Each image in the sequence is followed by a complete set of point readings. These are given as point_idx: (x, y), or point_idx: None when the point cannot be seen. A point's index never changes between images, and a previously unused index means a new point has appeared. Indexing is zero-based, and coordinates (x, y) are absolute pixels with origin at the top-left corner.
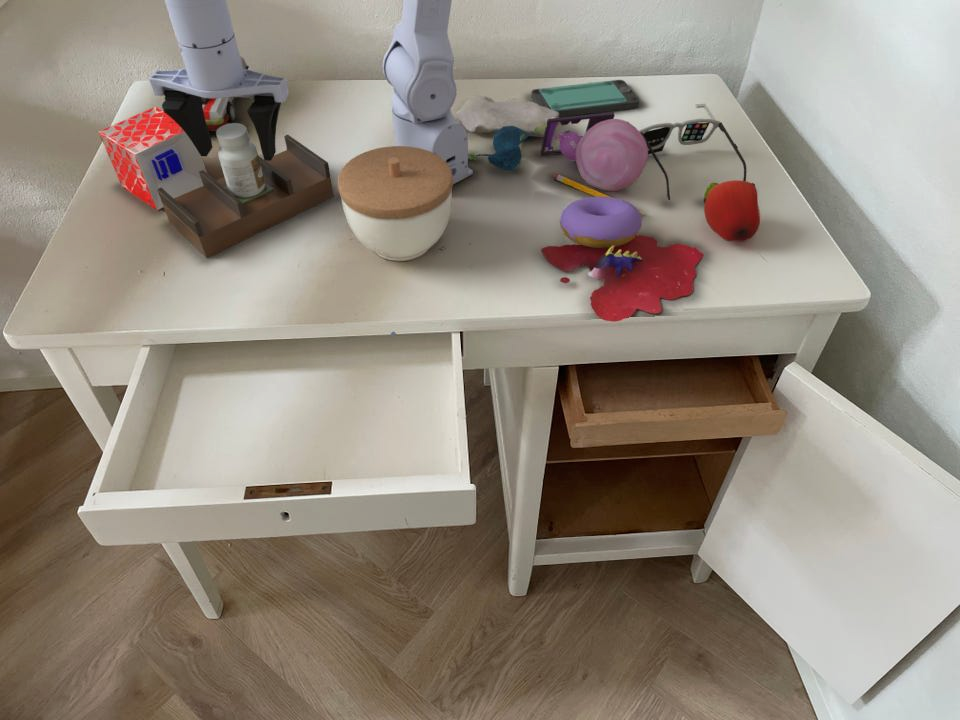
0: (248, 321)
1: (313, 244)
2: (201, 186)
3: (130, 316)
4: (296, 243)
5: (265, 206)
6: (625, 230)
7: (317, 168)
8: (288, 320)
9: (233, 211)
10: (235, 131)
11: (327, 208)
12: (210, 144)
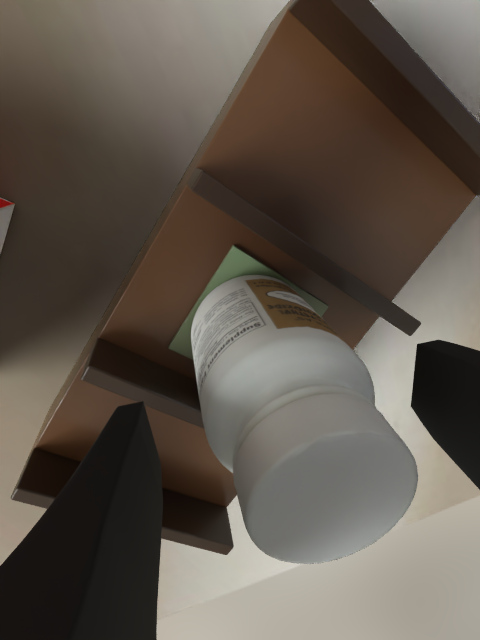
0: None
1: (412, 365)
2: (4, 235)
3: (165, 597)
4: (376, 373)
5: None
6: None
7: (455, 164)
8: (406, 520)
9: None
10: (359, 499)
11: None
12: (143, 422)
